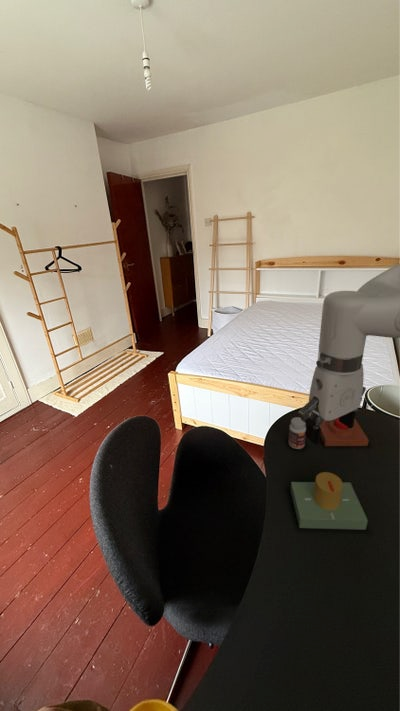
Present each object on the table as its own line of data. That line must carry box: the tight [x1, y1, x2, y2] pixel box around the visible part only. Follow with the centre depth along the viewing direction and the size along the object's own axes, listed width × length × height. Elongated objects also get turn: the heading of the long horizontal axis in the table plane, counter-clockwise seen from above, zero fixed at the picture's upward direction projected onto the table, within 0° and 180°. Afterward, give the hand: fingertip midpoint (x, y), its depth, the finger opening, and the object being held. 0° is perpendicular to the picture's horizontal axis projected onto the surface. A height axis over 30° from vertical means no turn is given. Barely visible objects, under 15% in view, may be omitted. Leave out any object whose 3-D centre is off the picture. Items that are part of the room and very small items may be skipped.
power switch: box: [319, 418, 370, 447], centre depth 91 cm, size 12×10×4 cm
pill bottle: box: [288, 416, 306, 450], centre depth 88 cm, size 5×5×8 cm
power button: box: [335, 417, 349, 429], centre depth 90 cm, size 4×4×2 cm
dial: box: [314, 471, 343, 510], centre depth 67 cm, size 6×6×6 cm
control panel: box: [290, 481, 369, 531], centre depth 69 cm, size 14×10×3 cm
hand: (329, 432), depth 62 cm, fingers open, 9 cm apart
